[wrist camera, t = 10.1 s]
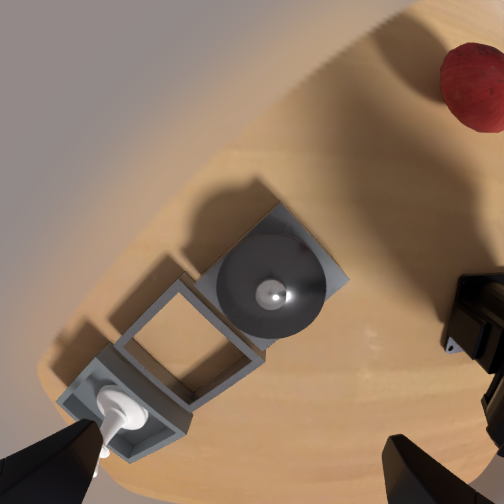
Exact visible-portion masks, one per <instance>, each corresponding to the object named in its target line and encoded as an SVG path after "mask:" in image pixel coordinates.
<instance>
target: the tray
mask: <svg viewBox="0 0 504 504" xmlns="http://www.w3.org/2000/svg"><path fill="white" fill-rule="evenodd" d="M106 385H118V386H119V387H120V388H121V389H122V390H124V391H125V392H126V393H127V394H128V395H129V396H130V397H132V398H133V399H134V400H135V401H136V402H137V403H139V404H140V405H141V406H142V407H143V408H145V409H146V410H147V411H148V420H147V422H146V423H145V424H144V425H143V426H142V427H141V428H139V429H135V430H129V429H124V428H120V429H119V430H118V431H117V433H116V434H115V435H114V436H113V437H112V439H111V440H110V441H109V442H108V444H107V445H106V446H107V447H108V448H109V449H110V450H112V451H113V452H114V453H116V454H117V455H118V456H120V457H121V458H122V459H124V460H125V461H127V462H128V463H129V464H130V463H133V462H135V461H137V460H139V459H141V458H143V457H145V456H147V455H149V454H151V453H153V452H155V451H157V450H159V449H161V448H163V447H165V446H167V445H169V444H170V443H172V442H174V441H176V440H178V439H180V438H182V437H183V436H185V435H187V432H188V429H189V426H190V423H191V420H192V417H193V414H191V413H189V412H188V411H187V410H185V409H184V408H183V407H182V406H180V405H179V404H178V403H177V402H175V401H174V400H173V399H172V398H170V397H169V396H168V395H167V394H166V393H164V392H163V391H162V390H161V389H160V388H159V387H157V386H156V385H155V384H154V383H153V382H152V381H150V380H149V379H148V378H147V377H146V376H145V375H144V374H143V373H141V372H140V371H139V370H138V369H137V368H136V367H135V366H134V365H133V364H132V363H131V362H130V361H128V360H127V359H126V358H125V357H124V356H123V355H122V354H121V353H120V352H119V351H118V350H117V349H116V348H115V347H114V346H113V344H112V343H111V342H109V343H108V344H107V345H106V346H105V347H104V348H103V349H102V351H101V352H100V353H99V354H98V355H97V356H96V357H95V358H94V359H93V360H92V361H91V362H90V364H89V365H88V366H87V367H86V368H85V369H84V370H83V371H82V372H81V373H80V375H79V376H78V377H77V378H76V379H75V380H74V381H73V382H72V383H71V385H70V386H69V387H68V388H67V389H66V390H65V391H64V393H63V394H62V395H61V396H60V397H59V398H58V399H57V400H56V403H57V404H58V405H60V406H61V407H62V408H63V409H64V410H65V411H66V412H67V413H68V414H69V415H70V416H71V417H72V418H73V419H74V420H76V421H79V420H81V419H83V418H88V419H91V420H94V421H96V422H97V424H98V426H99V429H100V427H101V425H102V423H103V420H104V418H105V416H104V415H103V414H102V413H101V411H100V409H99V408H98V405H97V395H98V393H99V391H100V389H101V388H102V387H103V386H106Z"/></svg>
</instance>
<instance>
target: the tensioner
mask: <svg viewBox="0 0 504 504" xmlns="http://www.w3.org/2000/svg"><path fill="white" fill-rule="evenodd" d="M349 280H350V279H349V278H348V277H347V275H346V274H345V273H344V271H343V270H342V269H341V268H340V266H339V265H338V264H337V263H336V262H335V261H334V260H333V258H332V257H331V256H330V255H329V254H328V253H327V252H326V250H325V249H324V248H323V247H322V246H321V245H320V244H319V243H318V241H317V240H316V239H315V238H314V237H313V236H312V235H311V234H310V233H309V231H308V230H307V229H306V228H305V227H304V226H303V225H302V224H301V223H300V222H299V221H298V219H297V218H296V217H295V216H294V215H293V214H292V213H291V212H290V211H289V210H288V209H287V208H286V206H285V205H284V204H283V203H282V202H281V201H279V202H278V203H277V204H276V205H275V206H274V207H273V208H272V209H271V210H270V211H269V212H267V213H266V214H265V215H264V216H263V217H262V218H261V219H260V220H259V221H258V222H257V223H256V224H255V225H254V226H252V227H251V228H250V229H249V230H248V231H247V232H246V233H245V234H244V235H243V236H242V237H241V238H240V239H239V240H238V241H236V242H235V243H234V244H233V245H232V246H231V247H230V248H229V249H228V250H227V251H226V252H225V253H224V254H223V255H222V256H221V257H220V258H218V259H217V260H216V261H215V262H214V263H213V264H212V265H211V266H210V267H209V268H208V269H207V270H206V271H205V272H204V273H203V274H202V275H201V276H200V277H199V278H198V280H197V281H196V282H195V281H194V280H193V279H192V278H191V277H190V276H189V275H188V274H187V273H186V272H184V273H183V274H182V275H181V276H180V277H179V278H178V279H177V280H176V281H175V282H174V283H173V284H172V285H171V286H170V287H169V288H168V289H167V290H166V291H165V292H164V293H163V294H162V295H161V296H160V297H159V298H158V299H157V300H156V301H155V302H154V303H153V304H152V305H151V306H150V307H149V308H148V309H147V310H146V311H145V312H144V313H143V314H142V315H141V316H140V317H139V318H138V319H137V320H136V322H135V323H134V324H133V325H132V326H131V327H130V328H129V329H128V330H127V331H126V332H125V333H124V334H123V335H122V336H121V337H120V338H119V339H118V340H117V341H116V343H115V344H114V345H113V346H114V347H115V348H116V349H117V350H118V351H119V352H120V353H121V354H122V355H123V356H124V357H125V358H126V359H127V360H128V361H130V362H131V363H132V364H133V365H134V366H135V367H136V368H137V369H138V370H139V371H140V372H141V373H143V374H144V375H145V376H146V377H147V378H148V379H149V380H150V381H152V382H153V383H154V384H155V385H156V386H157V387H159V388H160V389H161V390H162V391H163V392H164V393H166V394H167V395H168V396H169V397H170V398H172V399H173V400H174V401H175V402H177V403H178V404H179V405H180V406H182V407H183V408H184V409H185V410H187V411H188V412H189V413H191V412H193V411H194V410H196V409H197V408H199V407H201V406H202V405H204V404H205V403H207V402H208V401H210V400H211V399H213V398H214V397H216V396H217V395H219V394H220V393H222V392H223V391H225V390H226V389H228V388H229V387H231V386H232V385H234V384H235V383H236V382H238V381H239V380H241V379H242V378H244V377H245V376H246V375H248V374H249V373H251V372H252V371H253V370H255V369H256V368H258V367H259V366H260V365H262V364H263V363H264V362H265V359H266V348H268V347H269V346H270V345H272V344H273V343H274V342H275V341H277V340H278V339H279V338H285V337H289V336H291V335H294V334H296V333H298V332H300V331H302V330H303V329H305V328H306V327H307V326H308V325H310V324H311V323H312V322H313V321H314V319H315V318H316V317H317V316H318V314H319V312H320V311H321V309H322V307H323V304H324V302H325V301H326V300H327V299H328V298H330V297H331V296H332V295H333V294H334V293H335V292H337V291H338V290H339V289H340V288H341V287H342V286H344V285H345V284H346V283H347V282H348V281H349ZM178 292H180V293H181V294H182V295H183V296H184V297H185V298H186V299H187V300H188V301H189V302H190V303H191V304H192V305H193V306H194V307H195V308H196V309H197V310H198V311H199V312H200V313H201V314H202V315H203V316H204V317H205V318H206V319H207V320H208V321H209V322H210V323H211V324H212V325H213V326H215V327H216V328H217V329H218V330H219V331H220V332H221V333H222V334H223V335H224V336H225V337H226V338H227V339H228V340H230V341H231V342H232V343H233V344H234V345H235V346H236V347H237V348H238V349H239V350H240V351H242V352H243V353H244V354H245V356H244V357H243V358H241V359H240V360H239V361H237V362H236V363H235V364H233V365H232V366H231V367H229V368H228V369H227V370H225V371H224V372H223V373H221V374H220V375H218V376H217V377H216V378H214V379H213V380H211V381H210V382H209V383H207V384H206V385H204V386H203V387H202V388H200V389H199V390H197V391H196V392H194V393H193V392H192V391H191V390H189V389H188V388H187V387H186V386H185V385H183V384H182V383H181V382H180V381H179V380H178V379H176V378H175V377H174V376H173V375H172V374H171V373H169V372H168V371H167V370H166V369H165V368H164V367H163V366H162V365H160V364H159V363H158V362H157V361H156V360H155V359H154V358H153V357H152V356H151V355H150V354H148V353H147V352H146V351H145V350H144V349H143V348H142V347H141V346H140V345H139V344H138V343H137V342H136V341H135V340H134V339H133V338H132V337H133V336H134V335H135V334H136V333H137V332H138V331H139V330H140V329H141V328H142V327H144V326H145V325H146V324H147V323H148V322H149V321H150V320H151V319H152V318H153V317H154V316H155V315H156V314H157V313H158V312H159V311H160V310H161V309H162V308H163V307H164V306H165V305H166V304H167V303H168V302H169V301H170V300H171V299H172V298H173V297H174V296H175V295H176V294H177V293H178Z"/></svg>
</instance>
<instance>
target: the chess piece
mask: <svg viewBox="0 0 504 504" xmlns="http://www.w3.org/2000/svg"><path fill="white" fill-rule="evenodd" d="M97 405H98V408H99V409H100V411H101V413H102V414H103V415H104V416H105V418H104V420H103V423H102V425H101V427H100V431H101V433H102V436H103V445H102V449H101V452H100V455H99V457H101V458H106V457H107V456H109V454H110V452H109V450H108V448H107V447H106V445H107V444H108V442H109V441H110V440H111V439H112V437H113V436H114V435H115V434H116V433H117V431H118V430H119V429H120V428H124V429H129V430H135V429H139V428H141V427H142V426H143V425H144V424H145V423H146V422H147V420H148V411H147V410H146V409H145V408H143V407H142V406H141V405H140V404H139V403H137V402H136V401H135V400H134V399H133V398H132V397H130V396H129V395H128V394H127V393H126V392H125V391H124V390H122V389H121V388H120V387H119V386H118V385H106V386H103V387H102V388H101V389H100V391H99V393H98V395H97ZM98 464H99V458H98V462H97V465H96V468H95V472H94V475H93V477H96V476H97V473H98Z"/></svg>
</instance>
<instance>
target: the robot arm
mask: <svg viewBox="0 0 504 504" xmlns="http://www.w3.org/2000/svg"><path fill="white" fill-rule="evenodd" d="M465 279H466V281H465V283H464V284H463V282H464V280H465ZM450 346H451V347H450ZM449 347H450V348H449ZM444 350H445V352H446V353H448V354H451V353H457V352H462V351H464V352H465V353H466V354H467V355H468V356H469V357H470V358H471V359H472V360H476V361H477V362H478V364H479V365H480V366H481V367H482V368H483V369H484V370H485V371H486V372H487V373H488V374H494V375H495V376H494V378H493V380H492V382H491V384H490V386H489V388H488V390H487V392H486V394H484V395H483V397H482V399H481V403H482V406H483V410H484V413H485V416H486V420H487V423H488V426H487V427H486V431H487V433H488V435H489V436H490V438H491V440H492V441H493V442H494V444H495V445H496V446H497V447H498V448H499V450H498V452H497V454H498V455H499V456H501V457H504V273H485V274H464V275H462V276H460V278H459V281H458V286H457V292H456V297H455V302H454V306H453V310H452V315H451V320H450V324H449V328H448V332H447V337H446V341H445V345H444ZM102 445H103V436H102V433H101V431H100V429H99V426H98V424H97V422H96V421H94V420H91V419H88V418H83V419H81V420H79V421H77V422H75V423H74V424H72V425H70V426H68V427H66V428H64V429H62V430H60V431H58V432H56V433H55V434H52V435H51V436H49V437H47V438H45V439H43V440H41V441H39V442H37V443H35V444H33V445H31V446H29V447H27V448H24V449H22V450H20V451H18V452H16V453H14V454H12V455H10V456H8V457H6V458H3V459H1V460H0V504H82V501H83V499H84V497H85V494H86V492H87V489H88V487H89V485H90V483H91V480H92V478H93V475H94V472H95V468H96V465H97V462H98V458H99V455H100V452H101V449H102ZM382 464H383V471H384V478H385V486H386V494H387V500H388V504H495V503H493V502H491V501H490V500H489V499H487V498H486V497H484V496H483V495H481V494H480V493H478V492H476V490H474V489H473V488H472V487H470V486H469V485H468V484H466V483H465V482H464V481H462V480H461V479H460V478H458V477H457V476H456V475H454V474H453V473H452V472H450V471H449V470H448V469H446V468H445V467H444V466H442V465H441V464H440V463H439V462H437V461H436V460H435V459H433V458H432V457H431V456H430V455H428V454H427V453H426V452H424V451H423V450H422V449H421V448H419V447H418V446H417V445H416V444H414V443H413V442H412V441H411V440H409V439H408V438H407V437H406V436H404V435H403V434H397V435H391V436H389V437H388V439H387V442H386V444H385V447H384V449H383V452H382Z"/></svg>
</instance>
